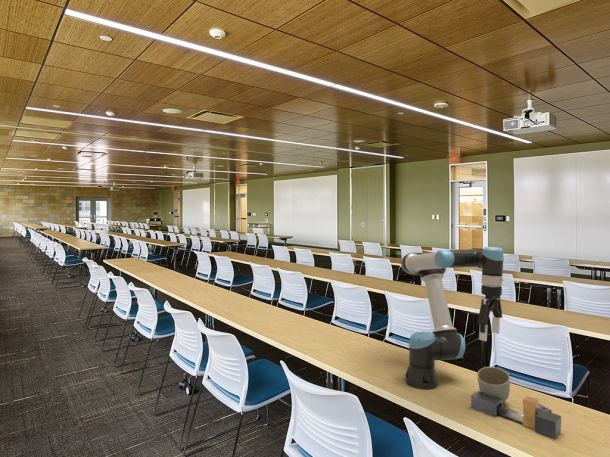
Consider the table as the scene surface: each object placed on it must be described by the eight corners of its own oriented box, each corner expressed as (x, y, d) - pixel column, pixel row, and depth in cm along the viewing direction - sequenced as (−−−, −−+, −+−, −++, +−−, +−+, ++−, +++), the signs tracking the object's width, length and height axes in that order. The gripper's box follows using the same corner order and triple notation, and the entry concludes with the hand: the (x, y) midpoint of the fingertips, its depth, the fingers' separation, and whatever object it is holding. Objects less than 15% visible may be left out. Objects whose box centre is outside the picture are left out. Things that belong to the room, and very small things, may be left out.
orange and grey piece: (496, 415, 153) (496, 390, 153) (499, 412, 156) (500, 387, 155) (550, 435, 139) (551, 408, 139) (554, 431, 142) (554, 404, 142)
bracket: (529, 403, 165) (529, 398, 165) (552, 414, 155) (552, 409, 155) (522, 404, 164) (522, 399, 164) (544, 416, 154) (544, 411, 154)
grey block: (470, 408, 159) (471, 395, 159) (477, 402, 163) (478, 390, 163) (496, 417, 152) (496, 404, 151) (502, 411, 156) (502, 399, 156)
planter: (517, 403, 159) (516, 381, 156) (488, 410, 158) (487, 388, 156) (499, 385, 171) (498, 364, 168) (473, 391, 170) (471, 370, 168)
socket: (535, 431, 141) (535, 415, 141) (540, 425, 146) (541, 409, 146) (555, 439, 137) (555, 422, 137) (560, 432, 141) (561, 415, 141)
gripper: (489, 291, 144) (487, 346, 146) (512, 282, 162) (509, 332, 163) (469, 287, 150) (467, 341, 151) (493, 280, 167) (491, 327, 168)
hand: (489, 336), depth 157 cm, fingers open, 13 cm apart
